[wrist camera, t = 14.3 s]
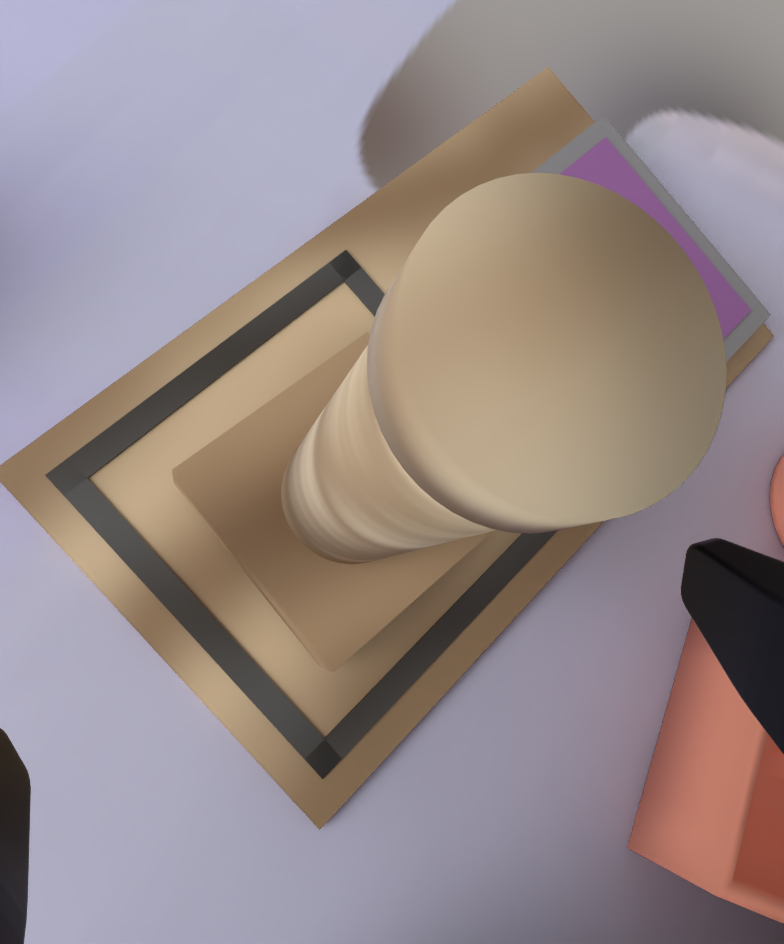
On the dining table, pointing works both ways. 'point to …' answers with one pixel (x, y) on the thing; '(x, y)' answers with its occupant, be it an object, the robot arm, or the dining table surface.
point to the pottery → (717, 781)
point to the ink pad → (661, 222)
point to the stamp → (472, 408)
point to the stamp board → (237, 396)
